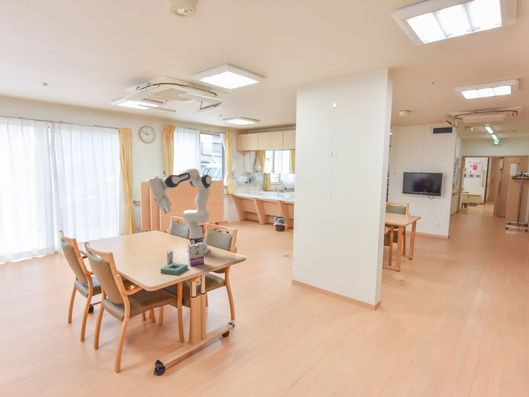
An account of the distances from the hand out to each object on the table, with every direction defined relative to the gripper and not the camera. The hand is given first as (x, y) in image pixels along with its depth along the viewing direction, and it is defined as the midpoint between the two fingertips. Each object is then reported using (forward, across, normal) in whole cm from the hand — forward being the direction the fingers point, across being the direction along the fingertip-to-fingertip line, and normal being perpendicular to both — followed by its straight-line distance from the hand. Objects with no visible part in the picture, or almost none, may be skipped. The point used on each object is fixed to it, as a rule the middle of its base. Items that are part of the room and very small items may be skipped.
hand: (168, 213), depth 236 cm
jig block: (+41, -10, +16) cm, 45 cm away
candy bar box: (+46, -5, -2) cm, 47 cm away
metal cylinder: (+38, +7, +13) cm, 41 cm away
